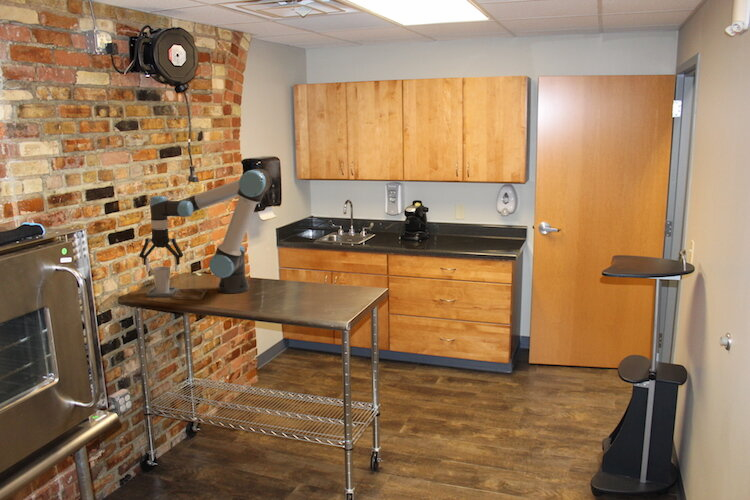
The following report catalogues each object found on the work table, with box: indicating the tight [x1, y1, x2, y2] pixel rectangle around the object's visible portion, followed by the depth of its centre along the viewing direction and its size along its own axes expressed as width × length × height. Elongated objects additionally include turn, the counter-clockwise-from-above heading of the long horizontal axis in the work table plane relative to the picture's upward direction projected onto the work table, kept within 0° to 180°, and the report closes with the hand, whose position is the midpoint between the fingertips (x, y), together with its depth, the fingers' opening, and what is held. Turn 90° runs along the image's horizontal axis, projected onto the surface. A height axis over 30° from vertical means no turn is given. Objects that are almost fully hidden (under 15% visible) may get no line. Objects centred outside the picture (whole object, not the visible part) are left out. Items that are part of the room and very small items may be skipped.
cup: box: [152, 265, 171, 293], centre depth 298 cm, size 8×8×12 cm
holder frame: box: [172, 288, 208, 300], centre depth 298 cm, size 14×14×2 cm
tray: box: [146, 286, 179, 298], centre depth 299 cm, size 12×12×2 cm
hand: (162, 271), depth 297 cm, fingers open, 13 cm apart
